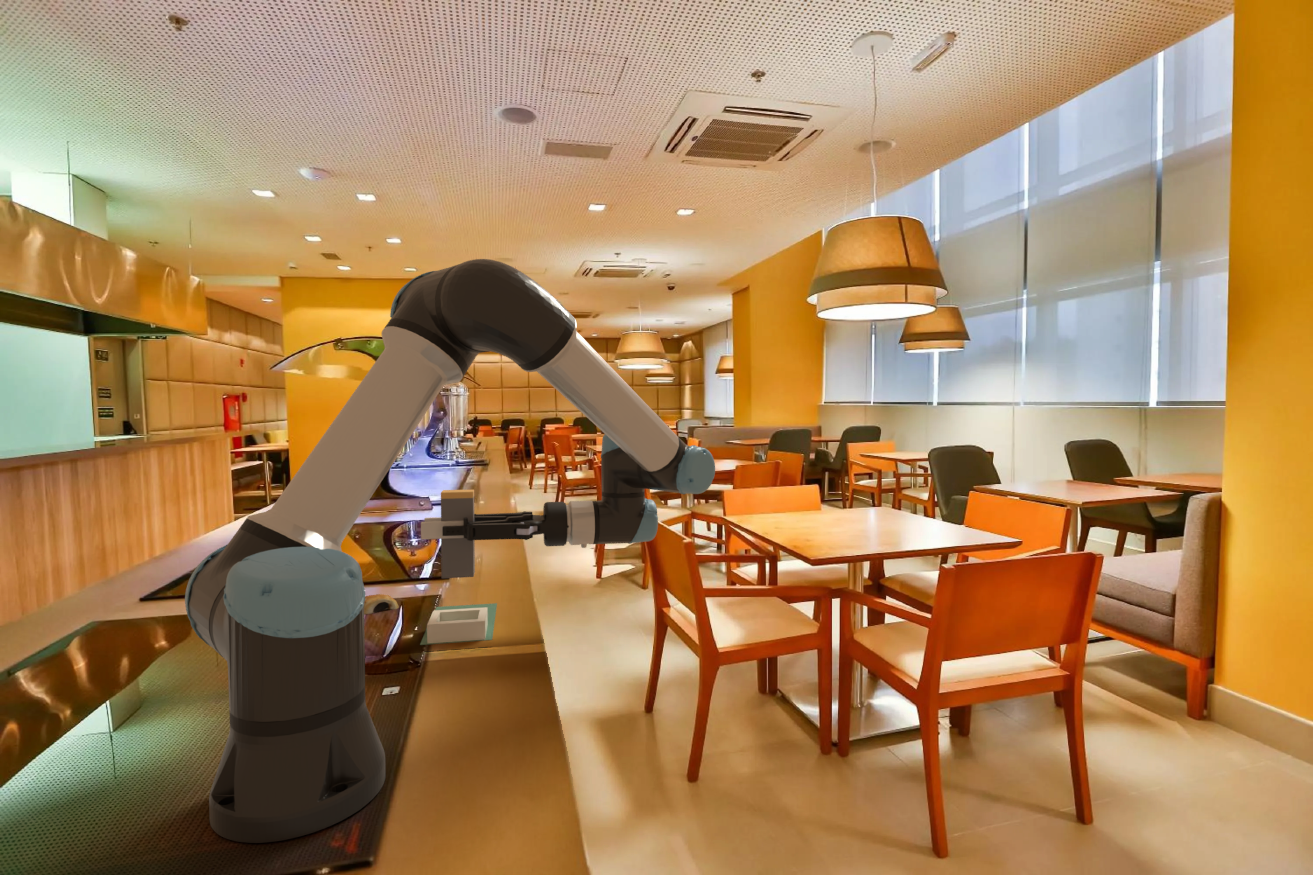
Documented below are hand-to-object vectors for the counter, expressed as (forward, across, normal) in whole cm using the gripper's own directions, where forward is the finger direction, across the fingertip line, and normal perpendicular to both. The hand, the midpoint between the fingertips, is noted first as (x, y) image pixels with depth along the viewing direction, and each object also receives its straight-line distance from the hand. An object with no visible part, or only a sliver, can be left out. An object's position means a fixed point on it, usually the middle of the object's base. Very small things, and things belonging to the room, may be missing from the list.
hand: (423, 528), depth 106 cm
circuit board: (-6, +4, -18) cm, 20 cm away
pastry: (+11, +17, -19) cm, 28 cm away
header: (-5, -2, -17) cm, 18 cm away
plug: (-5, 0, -8) cm, 10 cm away
